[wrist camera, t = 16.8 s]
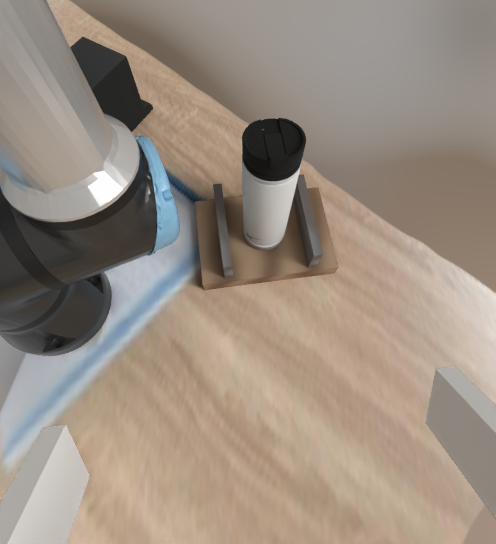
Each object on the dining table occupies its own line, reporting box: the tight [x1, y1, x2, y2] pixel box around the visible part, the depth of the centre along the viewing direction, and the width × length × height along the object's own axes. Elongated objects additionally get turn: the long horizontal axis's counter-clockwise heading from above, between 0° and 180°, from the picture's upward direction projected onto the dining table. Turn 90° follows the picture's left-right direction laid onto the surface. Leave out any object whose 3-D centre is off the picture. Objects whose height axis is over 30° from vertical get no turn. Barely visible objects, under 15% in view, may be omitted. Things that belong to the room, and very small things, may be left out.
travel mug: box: [242, 118, 306, 250], centre depth 40 cm, size 6×7×20 cm
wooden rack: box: [195, 175, 338, 290], centre depth 48 cm, size 20×14×7 cm
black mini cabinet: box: [70, 37, 153, 132], centre depth 48 cm, size 23×11×24 cm, turn 150°
